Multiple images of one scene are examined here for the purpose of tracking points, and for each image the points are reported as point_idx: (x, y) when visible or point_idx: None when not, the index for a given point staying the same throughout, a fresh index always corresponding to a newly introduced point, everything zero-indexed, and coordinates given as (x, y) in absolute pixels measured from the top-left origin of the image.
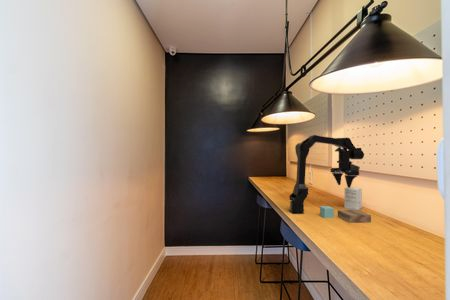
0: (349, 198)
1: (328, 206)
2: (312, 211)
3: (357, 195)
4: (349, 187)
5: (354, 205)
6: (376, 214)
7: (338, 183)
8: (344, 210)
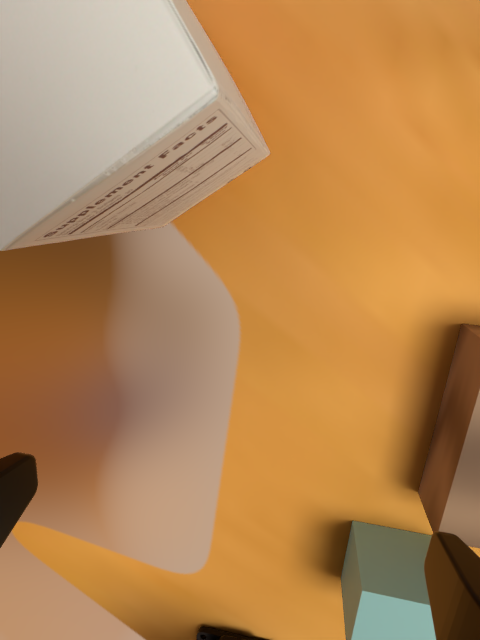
0: (163, 198)
1: (371, 599)
2: (229, 559)
3: (240, 107)
4: (448, 544)
5: (239, 167)
6: (458, 28)
7: (9, 522)
8: (469, 493)
